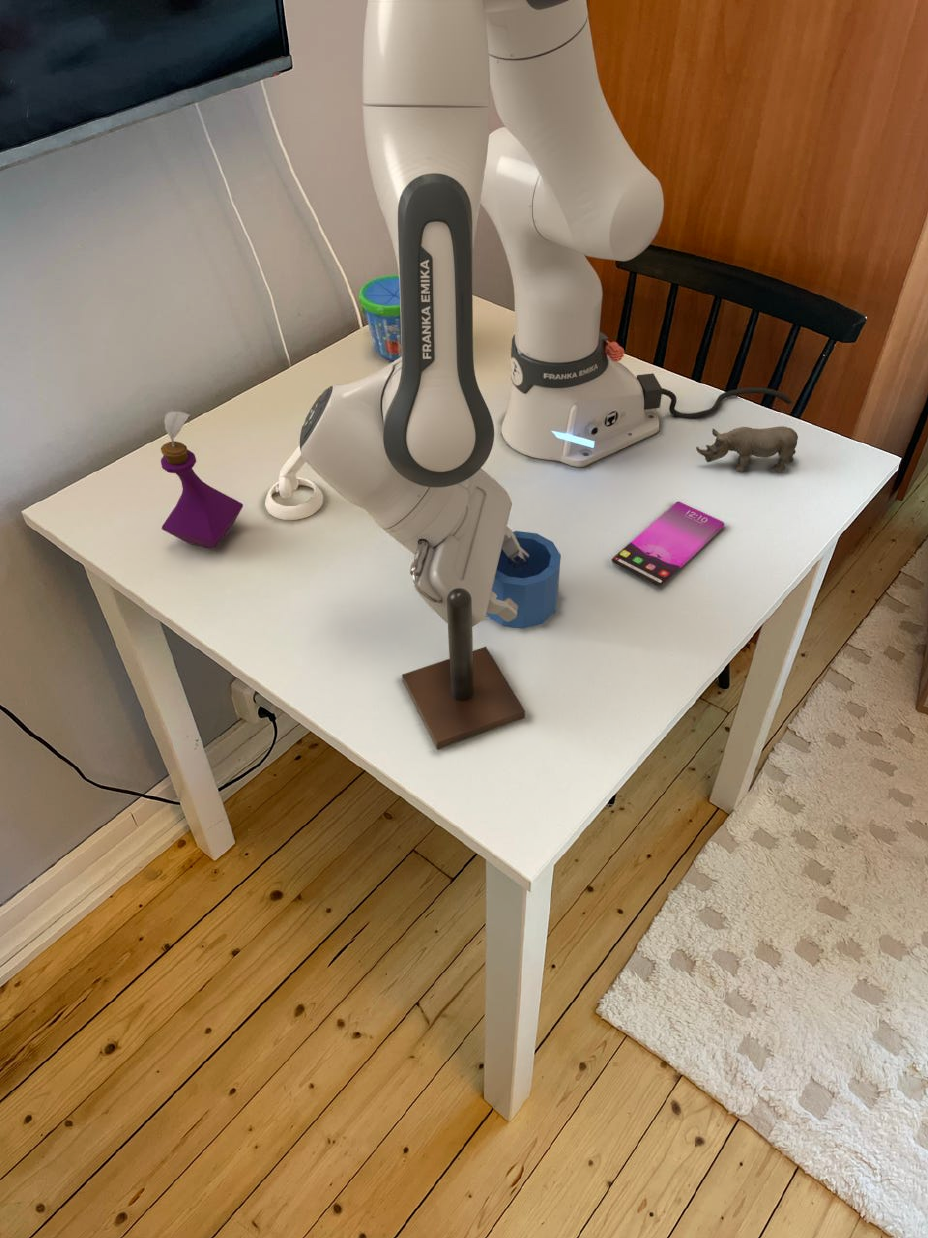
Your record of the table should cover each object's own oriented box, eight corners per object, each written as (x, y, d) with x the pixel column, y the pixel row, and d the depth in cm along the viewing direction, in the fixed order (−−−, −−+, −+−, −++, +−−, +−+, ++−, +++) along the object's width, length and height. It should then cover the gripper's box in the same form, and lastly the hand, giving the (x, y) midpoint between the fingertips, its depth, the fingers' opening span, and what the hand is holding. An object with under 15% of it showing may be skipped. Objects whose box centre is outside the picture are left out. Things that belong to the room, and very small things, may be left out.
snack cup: (345, 339, 155) (338, 279, 148) (401, 320, 159) (396, 261, 152) (396, 382, 146) (391, 320, 139) (453, 360, 150) (451, 299, 143)
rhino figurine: (690, 455, 132) (696, 418, 128) (790, 455, 132) (801, 418, 127) (694, 474, 129) (701, 437, 125) (797, 473, 129) (808, 436, 124)
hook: (352, 488, 120) (302, 471, 116) (308, 539, 128) (259, 525, 124) (350, 443, 124) (301, 425, 120) (307, 496, 132) (260, 480, 128)
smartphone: (609, 564, 117) (610, 558, 116) (676, 503, 125) (677, 498, 124) (660, 590, 114) (660, 585, 113) (725, 526, 121) (726, 521, 121)
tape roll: (489, 571, 117) (489, 527, 112) (561, 579, 115) (564, 536, 110) (475, 622, 111) (474, 579, 106) (551, 632, 109) (554, 589, 104)
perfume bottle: (219, 561, 119) (185, 441, 106) (167, 548, 121) (128, 428, 108) (248, 523, 124) (220, 404, 111) (198, 511, 126) (164, 393, 113)
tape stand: (485, 653, 107) (485, 545, 96) (524, 717, 101) (529, 610, 89) (402, 681, 105) (391, 573, 93) (437, 749, 98) (429, 642, 87)
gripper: (427, 566, 92) (526, 646, 98) (466, 440, 106) (551, 517, 112) (386, 594, 96) (483, 669, 102) (429, 469, 110) (512, 541, 116)
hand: (519, 588), depth 107 cm, fingers open, 7 cm apart
